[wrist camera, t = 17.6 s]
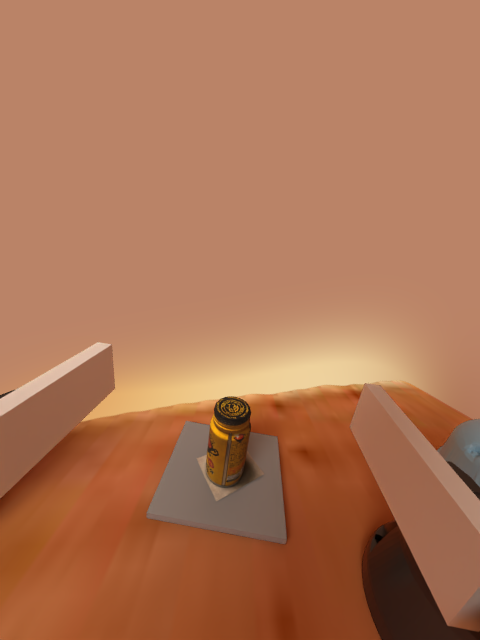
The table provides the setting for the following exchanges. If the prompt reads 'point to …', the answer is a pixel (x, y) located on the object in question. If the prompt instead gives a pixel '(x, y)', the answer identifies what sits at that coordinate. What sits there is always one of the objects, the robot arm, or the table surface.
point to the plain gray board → (232, 510)
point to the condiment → (229, 449)
